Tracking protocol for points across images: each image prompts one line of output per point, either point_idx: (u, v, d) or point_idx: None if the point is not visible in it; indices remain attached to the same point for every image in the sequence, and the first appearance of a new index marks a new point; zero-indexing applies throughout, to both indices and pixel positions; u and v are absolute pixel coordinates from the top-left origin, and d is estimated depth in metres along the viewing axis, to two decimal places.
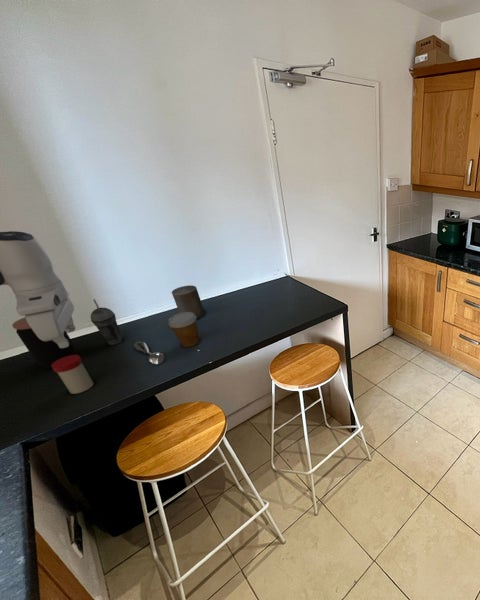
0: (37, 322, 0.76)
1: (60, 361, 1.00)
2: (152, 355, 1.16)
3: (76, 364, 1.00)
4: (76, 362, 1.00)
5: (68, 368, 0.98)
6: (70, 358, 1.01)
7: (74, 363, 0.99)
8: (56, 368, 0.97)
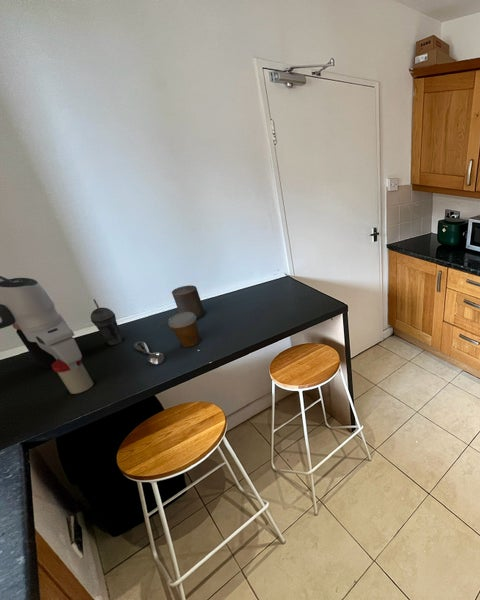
0: (63, 348, 0.92)
1: (60, 361, 1.00)
2: (152, 355, 1.16)
3: None
4: (76, 362, 1.00)
5: (68, 368, 0.98)
6: None
7: None
8: (56, 368, 0.97)
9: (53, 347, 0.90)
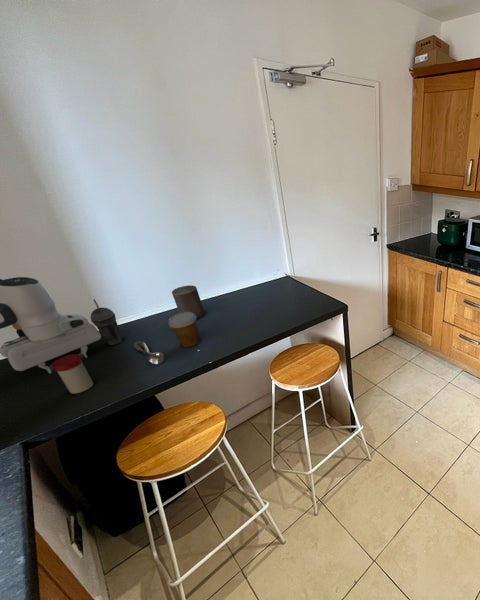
0: None
1: (62, 363, 0.99)
2: (152, 355, 1.16)
3: None
4: None
5: None
6: (63, 359, 1.00)
7: None
8: (76, 361, 1.00)
9: (89, 323, 1.01)
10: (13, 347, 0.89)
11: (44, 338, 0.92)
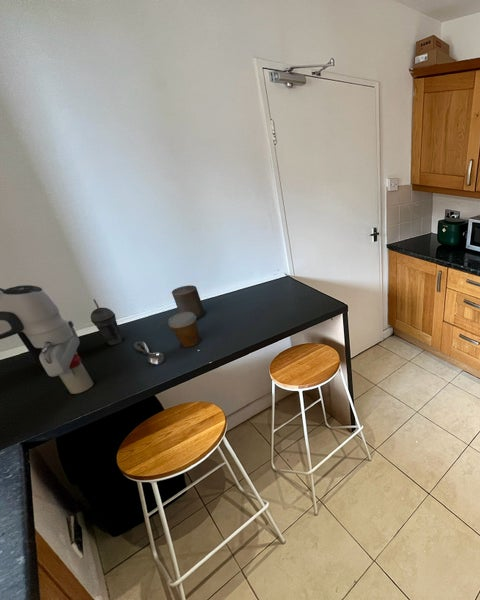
0: None
1: None
2: (152, 355, 1.16)
3: None
4: None
5: None
6: None
7: None
8: (78, 355, 1.02)
9: None
10: (51, 351, 0.91)
11: (69, 337, 0.97)
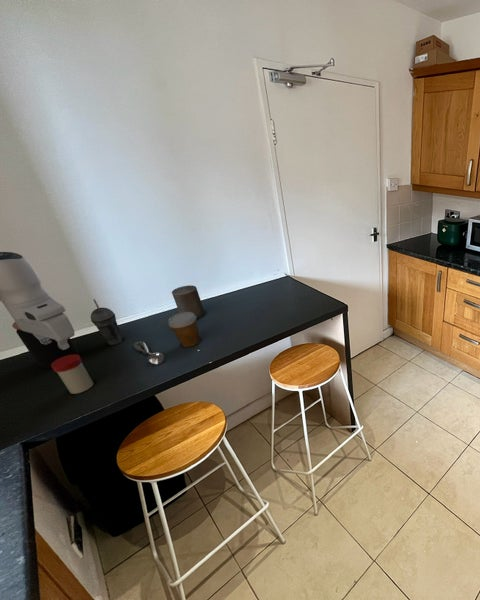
0: (56, 324, 0.89)
1: (68, 361, 0.99)
2: (152, 355, 1.16)
3: None
4: None
5: None
6: (59, 362, 0.99)
7: None
8: (78, 355, 1.02)
9: (45, 322, 0.87)
10: None
11: (11, 315, 0.88)
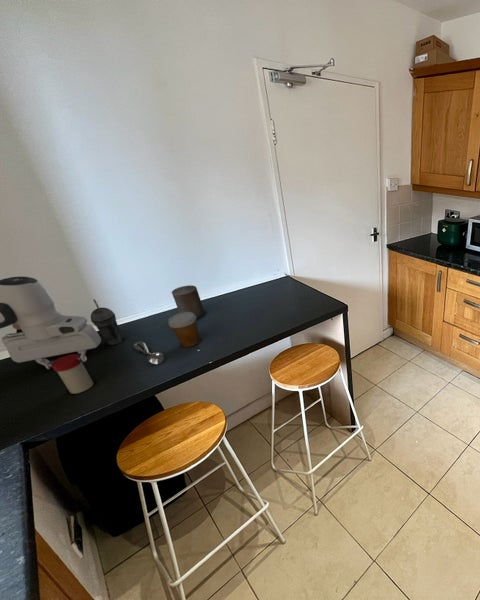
0: (90, 331, 0.99)
1: (71, 358, 1.00)
2: (152, 355, 1.16)
3: None
4: None
5: None
6: (61, 362, 0.99)
7: None
8: None
9: (83, 331, 0.97)
10: (12, 340, 0.92)
11: (32, 339, 0.91)
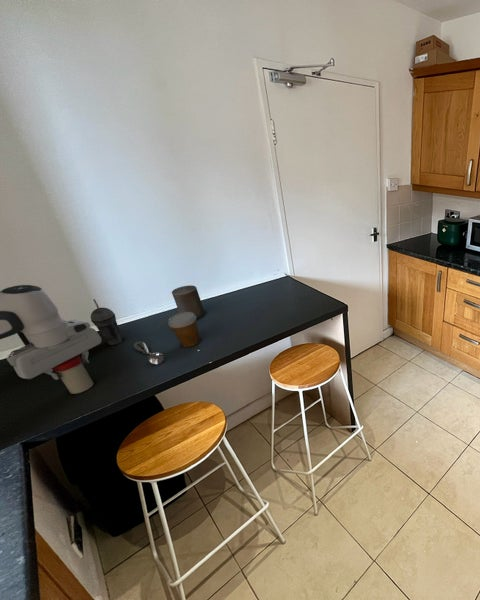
0: None
1: None
2: (152, 355, 1.16)
3: (53, 368, 0.98)
4: None
5: None
6: (66, 361, 0.99)
7: None
8: None
9: (91, 328, 1.03)
10: (21, 355, 0.89)
11: (52, 344, 0.93)
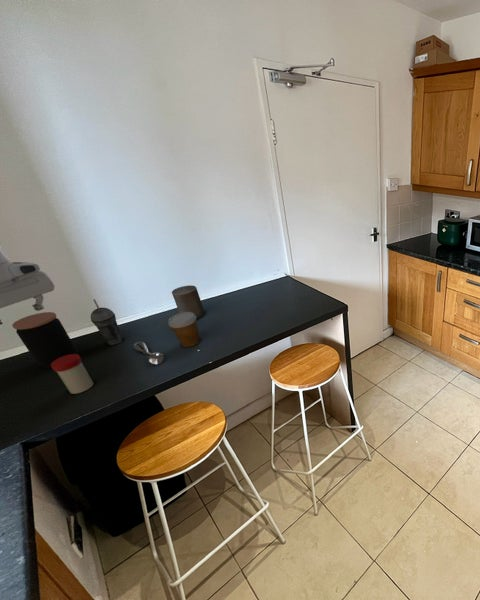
0: None
1: (70, 357, 1.01)
2: (152, 355, 1.16)
3: (53, 369, 0.98)
4: (52, 367, 0.97)
5: None
6: (66, 361, 0.99)
7: None
8: None
9: (41, 271, 0.95)
10: None
11: None
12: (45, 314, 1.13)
